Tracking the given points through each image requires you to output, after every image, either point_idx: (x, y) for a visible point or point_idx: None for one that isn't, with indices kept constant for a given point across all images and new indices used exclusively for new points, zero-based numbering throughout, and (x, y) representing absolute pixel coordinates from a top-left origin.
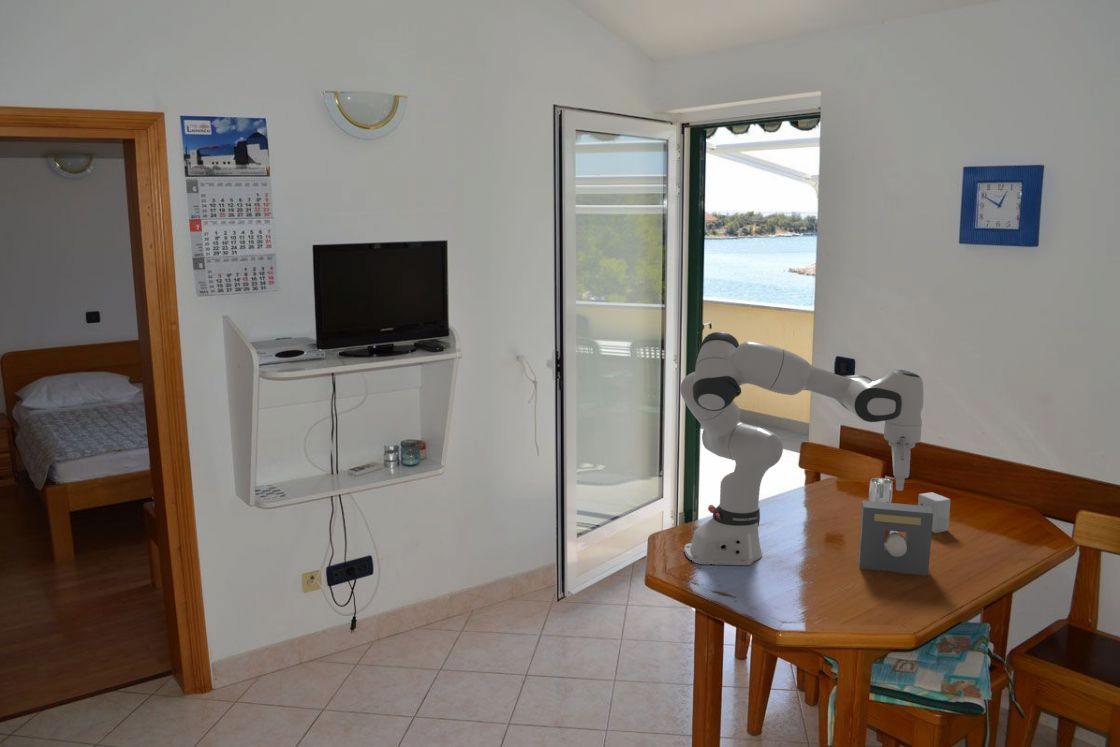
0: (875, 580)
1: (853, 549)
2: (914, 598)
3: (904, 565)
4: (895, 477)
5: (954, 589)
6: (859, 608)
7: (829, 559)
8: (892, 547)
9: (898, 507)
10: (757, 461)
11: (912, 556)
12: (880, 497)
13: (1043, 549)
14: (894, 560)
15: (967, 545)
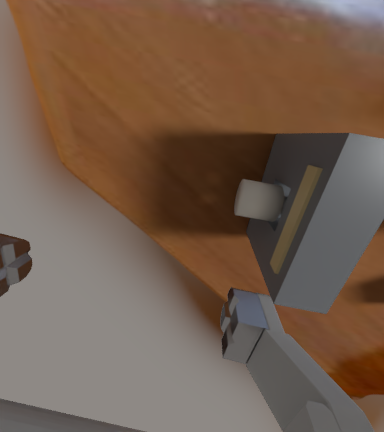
0: (225, 150)
1: None
2: (167, 192)
3: None
4: (232, 295)
5: (203, 248)
6: (115, 98)
7: (324, 79)
8: (241, 189)
9: (329, 242)
10: None
11: (258, 222)
12: None
13: (323, 367)
14: None
15: (350, 307)
